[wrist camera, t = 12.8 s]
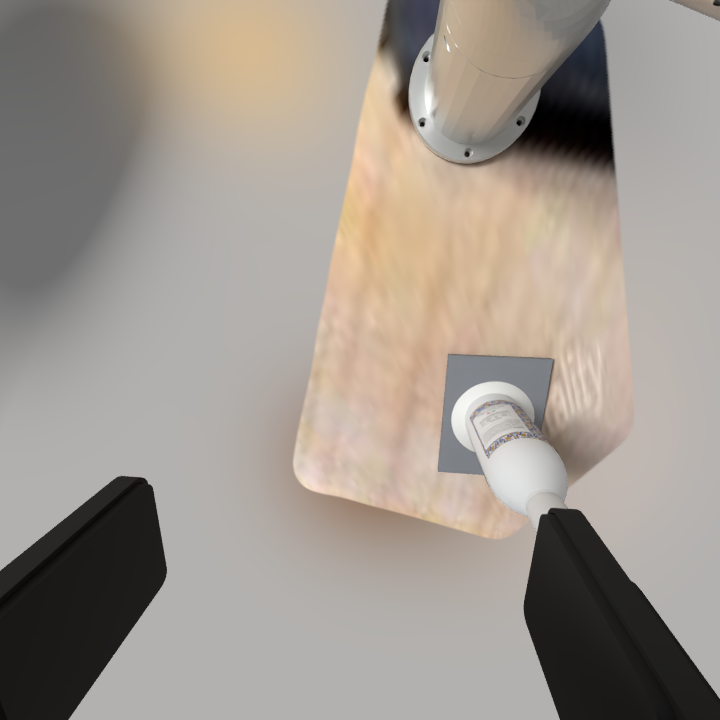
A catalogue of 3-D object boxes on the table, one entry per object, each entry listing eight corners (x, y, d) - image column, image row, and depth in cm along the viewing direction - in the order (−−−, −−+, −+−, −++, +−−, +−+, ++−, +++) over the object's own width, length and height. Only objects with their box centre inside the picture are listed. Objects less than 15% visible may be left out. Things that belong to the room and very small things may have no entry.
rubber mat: (448, 353, 44) (449, 355, 43) (551, 358, 43) (553, 360, 42) (437, 469, 49) (438, 472, 48) (530, 475, 48) (532, 478, 47)
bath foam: (516, 444, 46) (603, 581, 27) (460, 440, 46) (506, 572, 27) (525, 393, 44) (625, 501, 25) (466, 390, 44) (520, 493, 25)
